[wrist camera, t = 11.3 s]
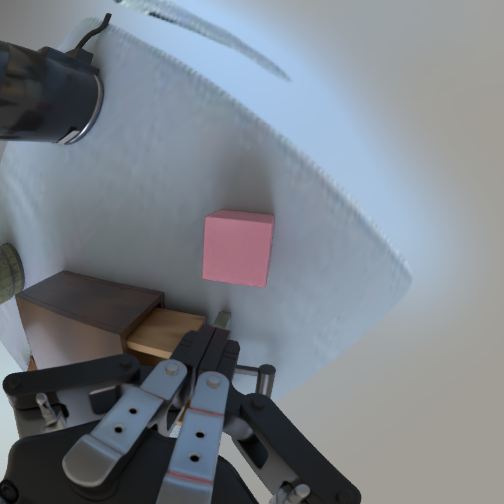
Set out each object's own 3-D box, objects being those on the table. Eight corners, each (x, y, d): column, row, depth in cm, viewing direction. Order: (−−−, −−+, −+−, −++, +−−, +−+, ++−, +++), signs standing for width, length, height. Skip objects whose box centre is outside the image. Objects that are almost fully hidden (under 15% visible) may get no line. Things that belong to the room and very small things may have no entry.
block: (220, 209, 25) (204, 216, 20) (275, 215, 24) (272, 223, 19) (216, 261, 26) (201, 279, 21) (269, 268, 26) (265, 288, 21)
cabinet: (163, 292, 28) (119, 334, 19) (169, 379, 31) (141, 428, 22) (63, 270, 29) (14, 294, 20) (78, 348, 32) (43, 381, 24)
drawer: (281, 319, 26) (279, 365, 19) (267, 399, 29) (261, 446, 22) (108, 289, 28) (68, 316, 21) (120, 366, 31) (93, 399, 24)
